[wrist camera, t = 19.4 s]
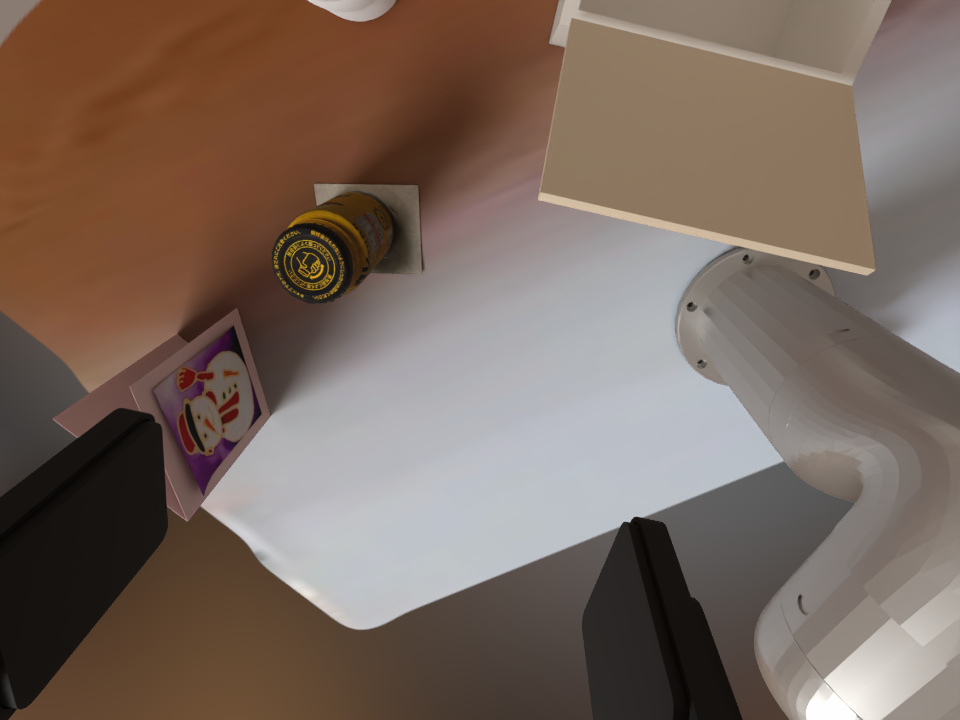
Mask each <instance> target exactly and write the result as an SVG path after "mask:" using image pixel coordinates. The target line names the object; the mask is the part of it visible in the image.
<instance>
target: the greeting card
mask: <svg viewBox="0 0 960 720" xmlns="http://www.w3.org/2000/svg"><path fill="white" fill-rule="evenodd" d="M118 408H126V409H131V410H135V411H140V412H145V413H149V414H152V415H153V416H154V418H155V422H156V423H159V424H160V425H161V426H162V432H163V449H164V466H165V483H166V500H167V507H169V508H170V509H171V510H173V511H174V512H175V513H177V514H178V515H179V516H181V517H182V518H183V519H185V520H186V521H188V520H189V519H190V518H191V517H192V515H193V514H194V513H195V512H196V510H197V509H198V508H199V506H200V505H201V504H202V503H203V501H204V500H205V499H206V498H207V496H208V495H209V494H210V492H211V491H212V490H213V489H214V487H215V486H216V485H217V484H218V482H219V481H220V480H221V478H222V477H223V476H224V475H225V473H226V472H227V471H228V470H229V468H230V467H231V466H232V465H233V463H234V462H235V461H236V459H237V458H238V457H239V456H240V454H241V453H242V452H243V451H244V449H245V448H246V447H247V445H248V444H249V443H250V442H251V440H252V439H253V438H254V437H255V435H256V434H257V433H258V431H259V430H260V429H261V428H262V426H263V425H264V424H265V423H266V421H267V420H268V419H269V418H270V416H271V415H270V412H269V408H268V405H267V402H266V399H265V396H264V392H263V389H262V386H261V383H260V379H259V376H258V373H257V370H256V367H255V363H254V360H253V357H252V354H251V351H250V347H249V344H248V341H247V338H246V334H245V331H244V328H243V325H242V322H241V318H240V315H239V312H238V309H237V308H236V309H234V310H233V311H232V312H230V313H229V314H228V315H226V316H225V317H224V318H222V319H221V320H219V321H218V322H217V323H215V324H214V325H213V326H211V327H210V328H208V329H207V330H206V331H204V332H203V333H202V334H200V335H199V336H198V337H196V338H195V339H193V340H192V341H191V342H189V343H187V342H186V341H185V340H184V339H183V338H182V337H180V336H179V335H178V334H176V335H175V336H173V337H172V338H170V339H169V340H167V341H166V342H164V343H163V344H162V345H160V346H159V347H157V348H156V349H154V350H153V351H151V352H150V353H148V354H147V355H145V356H144V357H142V358H141V359H139V360H138V361H137V362H135V363H134V364H132V365H131V366H129V367H128V368H126V369H125V370H123V371H122V372H120V373H119V374H117V375H116V376H115V377H113V378H112V379H110V380H109V381H107V382H106V383H104V384H103V385H101V386H100V387H98V388H97V389H95V390H94V391H93V392H91V393H90V394H88V395H87V396H85V397H84V398H83V399H81V400H79V401H78V402H76V403H75V404H74V405H72V406H70V407H69V408H68V409H66V410H65V411H63V412H62V413H61V414H59V415H57V416H56V417H54V418H53V420H54V421H56V422H57V423H58V424H59V425H61V426H62V427H63V428H65V429H66V430H67V431H69V432H70V433H72V434H73V435H74V436H75V437H77V438H79V437H80V436H81V435H82V434H84V433H85V432H86V431H88V430H89V429H90V428H92V427H93V426H94V425H96V424H97V423H98V422H99V421H101V420H102V419H103V418H105V417H106V416H107V415H109V414H110V413H111V412H112V411H114V410H116V409H118Z"/></svg>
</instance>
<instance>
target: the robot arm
mask: <svg viewBox="0 0 960 720" xmlns="http://www.w3.org/2000/svg"><path fill="white" fill-rule="evenodd" d="M746 254H747V257H746V258H745V259H743V257H744V256H745V255H746ZM811 270H812V272H811V273H810V271H811ZM809 273H810V274H809ZM690 302H692V304H691V305H690V306H687V305H688V303H690ZM675 333H676V338H677V343H678V345H679V348H680V350H681V352H682V354H683V356H684V357H685V359H686V360H687V362H688V363H689V364H690V365H691V367H692V368H693V369H694V370H695V371H696V372H698V373H699V374H701V375H702V376H703V377H705V378H706V379H709V380H711V381H713V382H716V383H718V384H722V385H727V386H729V387H730V389H731V390H732V391H733V393H734V394H735V395H736V397H737V398H738V399H739V401H740V402H741V404H742V405H743V406H744V408H745V409H746V410H747V412H748V413H749V414H750V416H751V417H752V418H753V420H754V421H755V422H756V424H757V425H758V427H759V428H760V429H761V431H762V432H763V433H764V435H765V436H766V437H767V439H768V440H769V441H770V443H771V444H772V446H773V447H774V448H775V450H776V451H777V452H778V453H779V454H780V456H781V457H782V459H783V460H784V461H785V463H786V464H787V465H788V466H789V467H790V468H791V469H792V470H793V472H794V473H796V474H797V475H798V476H799V477H800V478H801V479H803V480H804V481H805V482H807V483H808V484H810V485H811V486H813V487H815V488H817V489H819V490H821V491H822V492H825V493H827V494H829V495H832V496H835V497H838V498H842V499H845V500H849V501H852V502H856V503H855V504H854V506H853V507H852V508H851V509H850V511H849V512H848V513H847V514H846V515H845V516H844V518H843V519H842V520H841V521H840V522H839V523H838V524H837V525H836V527H835V528H834V531H833V532H832V533H831V534H830V535H829V536H828V537H827V538H826V539H825V541H824V542H823V543H822V544H821V545H820V546H819V547H818V548H817V549H816V550H815V551H814V552H813V554H811V556H810V557H809V558H808V559H807V560H806V561H805V562H804V563H803V564H802V565H801V566H800V568H799V569H798V570H797V571H796V572H795V573H794V574H793V575H792V576H791V577H790V579H788V581H787V582H786V583H785V584H784V586H783V587H782V588H781V589H780V590H779V591H778V592H777V593H776V594H775V596H774V597H773V598H772V599H771V601H770V602H769V603H768V605H767V606H766V607H765V608H764V610H763V612H762V613H761V615H760V618H759V620H758V623H757V625H756V630H755V636H754V644H755V645H754V646H755V654H756V659H757V662H758V666H759V668H760V671H761V674H762V676H763V678H764V680H765V682H766V684H767V686H768V688H769V690H770V691H771V693H772V695H773V696H774V698H775V699H776V701H777V703H778V704H779V706H780V707H781V708H782V710H783V711H784V713H785V714H786V715H787V717H788V718H789V719H790V720H960V373H958V372H957V371H955V370H953V369H951V368H950V367H948V366H946V365H945V364H943V363H941V362H940V361H938V360H936V359H935V358H933V357H931V356H930V355H928V354H926V353H925V352H923V351H921V350H920V349H918V348H917V347H915V346H913V345H911V344H910V343H908V342H906V341H905V340H903V339H902V338H900V337H898V336H897V335H895V334H894V333H892V332H890V331H889V330H887V329H886V328H884V327H882V326H881V325H879V324H877V323H876V322H874V321H873V320H871V319H869V318H868V317H866V316H865V315H863V314H861V313H860V312H858V311H856V310H855V309H853V308H852V307H850V306H848V305H847V304H845V303H844V302H842V301H840V300H839V299H837V298H836V295H835V291H834V287H833V284H832V281H831V279H830V277H829V276H828V274H827V272H826V271H825V269H824V268H823V267H822V266H821V265H818V264H814V263H809V262H805V261H801V260H796V259H792V258H788V257H783V256H779V255H775V254H770V253H766V252H762V251H757V250H753V249H749V248H744V247H742V248H739V249H736V250H732V251H730V252H728V253H726V254H724V255H722V256H720V257H718V258H717V259H715V260H714V261H713V262H711V263H710V264H709V265H707V266H706V267H704V268H703V269H702V270H701V271H700V272H699V273H698V275H697V276H696V277H695V278H694V279H693V280H692V281H691V283H690V284H689V286H688V287H687V289H686V290H685V292H684V294H683V296H682V298H681V300H680V303H679V305H678V309H677V313H676V318H675ZM699 360H701V361H699ZM698 361H699V362H698ZM167 518H168V517H167V500H166V483H165V466H164V449H163V432H162V426H161V425H160V424H159V423H156V422H155V418H154V416H153V415H152V414H149V413H145V412H140V411H135V410H131V409H126V408H118V409H116V410H114V411H112V412H111V413H110V414H109V415H107V416H106V417H105V418H103V419H102V420H101V421H99V422H98V423H97V424H96V425H94V426H93V427H92V428H90V429H89V430H88V431H86V432H85V433H84V434H82V435H81V436H80V437H79V438H77V439H76V440H75V441H73V442H72V443H71V444H69V445H68V446H67V447H65V448H64V449H63V450H62V451H60V452H59V453H58V454H56V455H55V456H54V457H53V458H51V459H50V460H49V461H47V462H46V463H45V464H43V465H42V466H41V467H39V468H38V469H37V470H36V471H34V472H33V473H32V474H30V475H29V476H28V477H26V478H25V479H24V480H22V481H21V482H20V483H18V484H17V485H16V486H15V487H13V488H12V489H11V490H10V491H8V492H7V493H5V494H4V495H3V496H1V497H0V720H8V719H9V718H10V717H11V716H12V714H13V713H14V712H15V711H16V710H17V709H23V708H26V707H27V706H28V705H30V704H31V703H32V702H33V701H34V700H35V698H36V697H37V696H38V695H39V694H40V692H41V691H42V690H43V689H44V688H45V686H46V685H47V684H48V682H49V681H50V680H51V679H52V677H53V676H54V675H55V674H56V673H57V671H58V670H59V669H60V668H61V666H62V665H63V664H64V663H65V662H66V660H67V659H68V658H69V657H70V655H71V654H72V653H73V651H74V650H75V649H76V648H77V647H78V645H79V644H80V643H81V642H82V640H83V639H84V638H85V637H86V636H87V634H88V633H89V632H90V631H91V629H92V628H93V627H94V626H95V624H96V623H97V622H98V621H99V619H100V618H101V617H102V616H103V614H104V613H105V612H106V611H107V609H108V608H109V607H110V606H111V605H112V603H113V602H114V601H115V599H116V598H117V597H118V596H119V594H120V593H121V592H122V591H123V590H124V588H125V587H126V586H127V585H128V583H129V582H130V581H131V580H132V578H133V577H134V576H135V575H136V574H137V572H138V571H139V570H140V569H141V567H142V566H143V565H144V564H145V562H146V561H147V560H148V559H149V557H150V556H151V555H152V554H153V553H154V551H155V550H156V549H157V548H158V546H159V545H160V544H161V542H162V541H163V539H164V536H165V534H166V532H167V528H168V519H167ZM582 631H583V639H584V648H585V656H586V665H587V672H588V681H589V689H590V697H591V706H592V714H593V720H743V719H742V716H741V714H740V711H739V708H738V706H737V703H736V700H735V697H734V695H733V692H732V689H731V686H730V683H729V681H728V678H727V675H726V673H725V670H724V667H723V664H722V662H721V659H720V656H719V653H718V650H717V648H716V645H715V642H714V639H713V637H712V634H711V631H710V628H709V626H708V623H707V620H706V617H705V614H704V612H703V609H702V607H701V605H700V603H699V602H698V601H697V600H696V599H695V598H692V597H691V596H690V593H689V590H688V588H687V585H686V582H685V579H684V576H683V573H682V570H681V567H680V564H679V562H678V559H677V556H676V553H675V550H674V547H673V544H672V541H671V539H670V536H669V533H668V530H667V527H666V525H665V524H664V523H663V522H659V521H655V520H650V519H645V518H640V517H634V518H633V519H632V520H631V522H630V523H629V522H623V523H622V525H621V527H620V529H619V531H618V534H617V536H616V538H615V541H614V543H613V545H612V548H611V550H610V552H609V555H608V557H607V559H606V562H605V564H604V566H603V568H602V571H601V573H600V576H599V578H598V580H597V582H596V585H595V587H594V589H593V592H592V594H591V596H590V599H589V601H588V603H587V605H586V608H585V610H584V614H583V620H582Z"/></svg>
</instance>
